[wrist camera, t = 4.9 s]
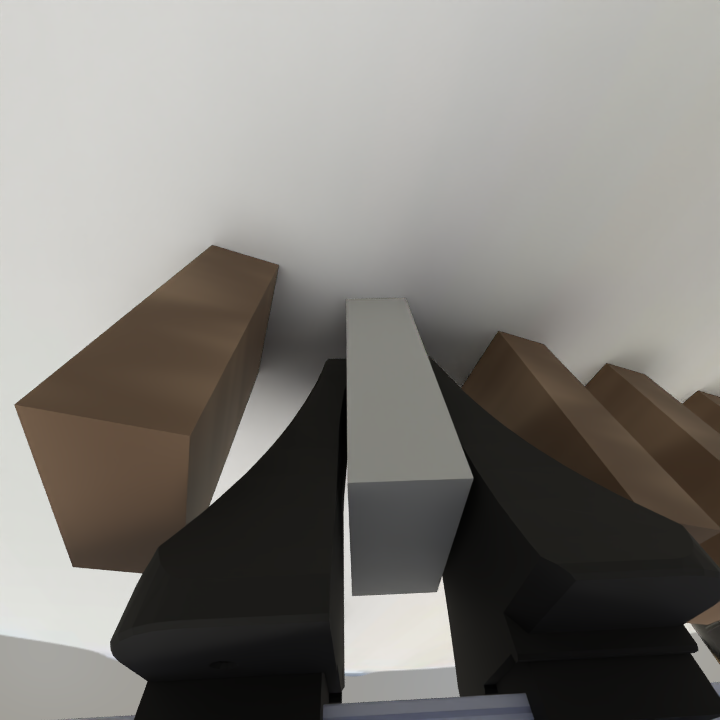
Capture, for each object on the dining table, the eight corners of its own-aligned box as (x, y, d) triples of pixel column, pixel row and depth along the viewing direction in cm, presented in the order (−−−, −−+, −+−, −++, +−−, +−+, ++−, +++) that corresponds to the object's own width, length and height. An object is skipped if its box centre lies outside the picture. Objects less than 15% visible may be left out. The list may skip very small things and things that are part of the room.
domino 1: (279, 265, 10) (190, 436, 4) (258, 372, 12) (182, 577, 7) (212, 245, 10) (13, 404, 4) (203, 360, 12) (72, 566, 6)
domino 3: (543, 344, 12) (723, 531, 6) (483, 423, 14) (574, 612, 9) (498, 330, 12) (646, 517, 6) (443, 414, 14) (512, 607, 8)
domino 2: (405, 297, 11) (473, 478, 5) (397, 396, 13) (436, 592, 8) (346, 298, 11) (347, 482, 5) (349, 397, 13) (352, 596, 8)
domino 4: (645, 374, 13) (876, 558, 7) (573, 444, 16) (707, 624, 10) (606, 363, 13) (820, 548, 7) (539, 436, 15) (657, 620, 9)
